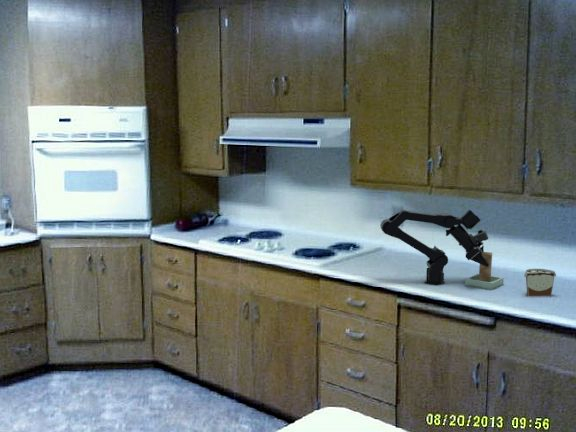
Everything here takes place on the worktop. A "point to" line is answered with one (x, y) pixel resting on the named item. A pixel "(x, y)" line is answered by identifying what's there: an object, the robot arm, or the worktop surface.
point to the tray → (475, 282)
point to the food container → (539, 282)
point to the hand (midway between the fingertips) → (488, 264)
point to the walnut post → (486, 268)
